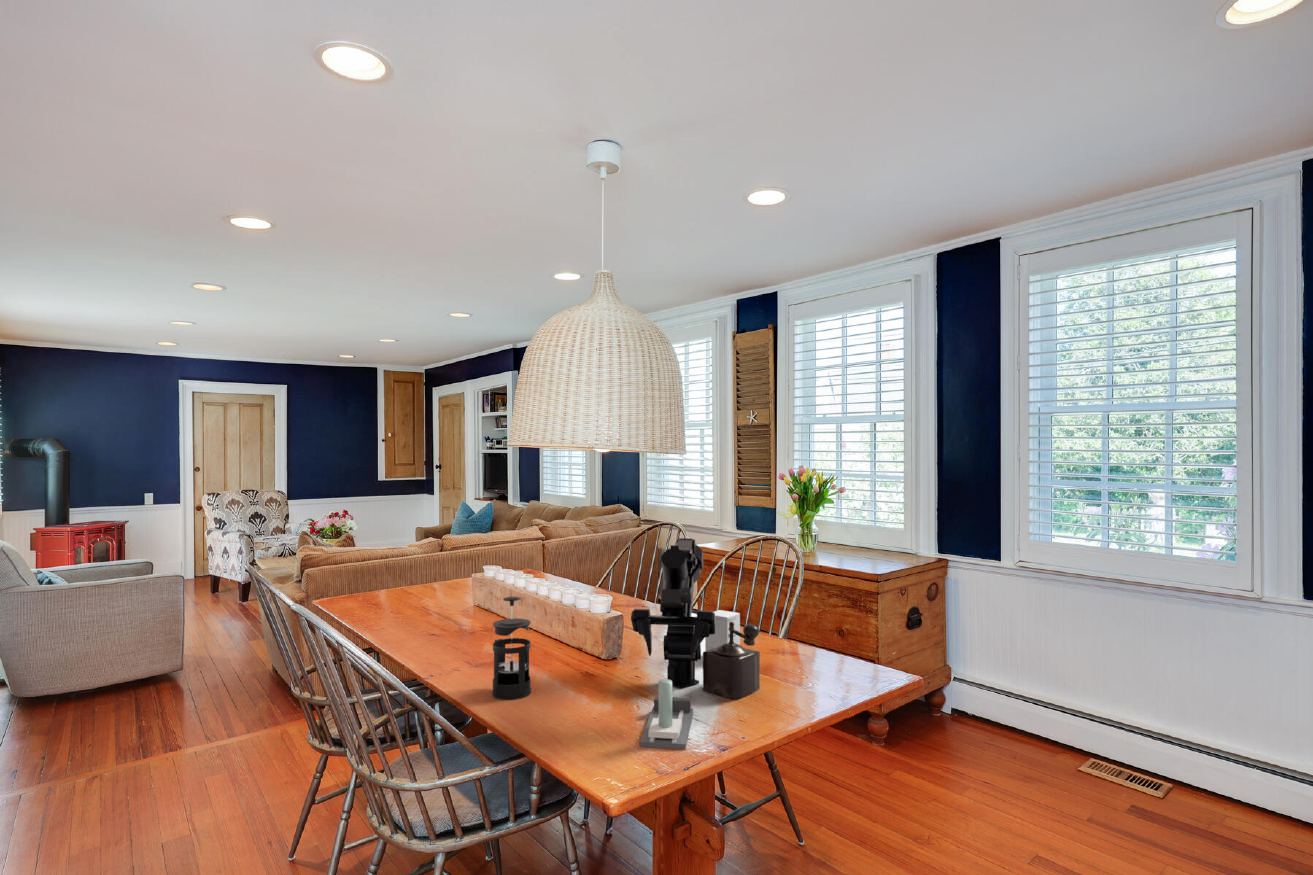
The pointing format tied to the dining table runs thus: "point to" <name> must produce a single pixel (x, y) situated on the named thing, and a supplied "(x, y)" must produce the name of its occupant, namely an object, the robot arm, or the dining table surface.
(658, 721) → the carriage
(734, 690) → the manual coffee grinder
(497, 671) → the french press
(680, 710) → the rail track
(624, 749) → the dining table surface
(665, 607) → the robot arm
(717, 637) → the supplement box
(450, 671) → the dining table surface
